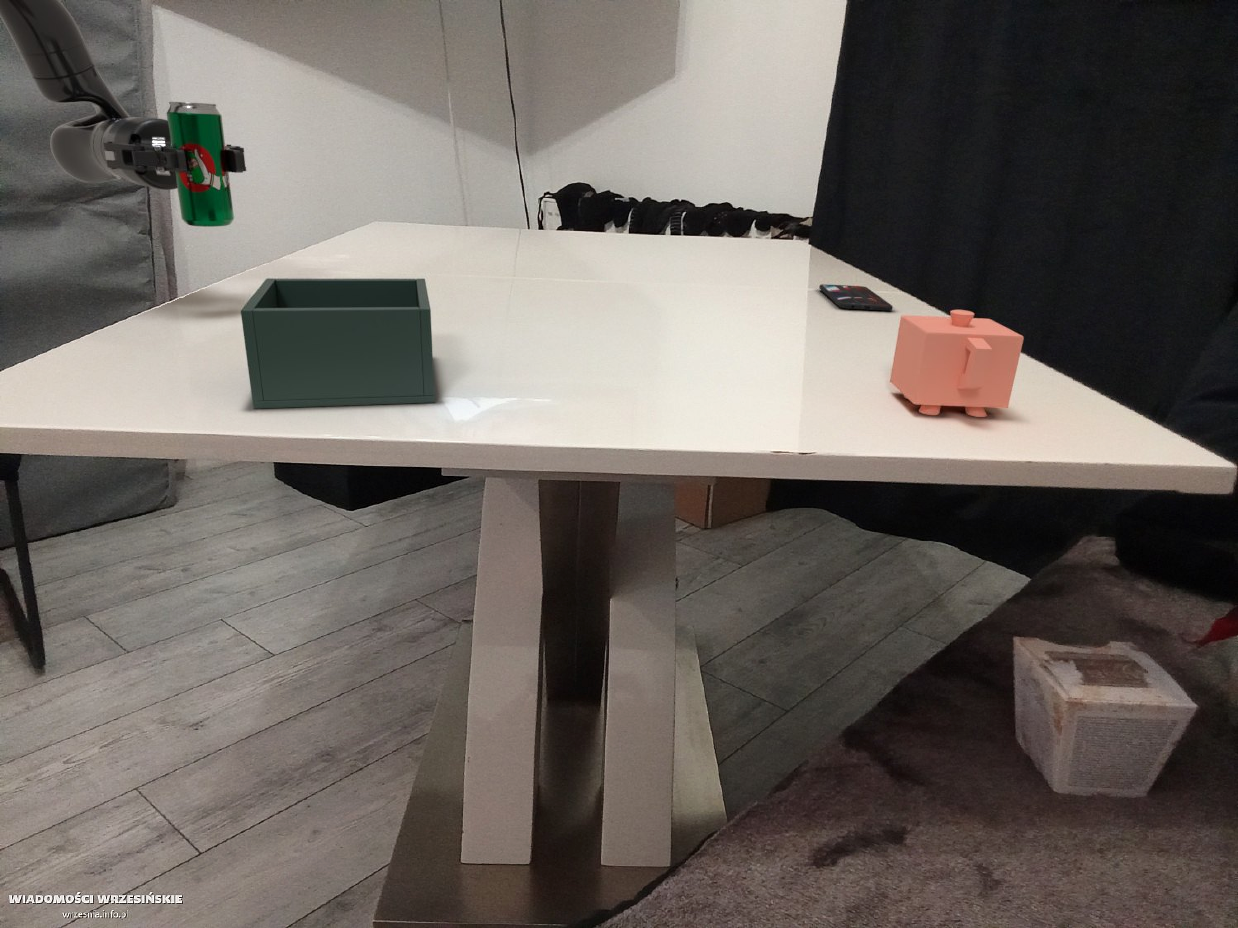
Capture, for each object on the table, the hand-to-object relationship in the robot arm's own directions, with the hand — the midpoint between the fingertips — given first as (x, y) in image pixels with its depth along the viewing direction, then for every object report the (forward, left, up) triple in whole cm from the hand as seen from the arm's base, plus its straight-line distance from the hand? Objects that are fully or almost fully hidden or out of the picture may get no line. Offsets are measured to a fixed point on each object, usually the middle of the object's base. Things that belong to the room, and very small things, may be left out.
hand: (211, 161), depth 85 cm
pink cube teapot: (+64, -38, -16) cm, 76 cm away
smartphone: (+80, +8, -16) cm, 82 cm away
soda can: (-2, +2, -7) cm, 7 cm away
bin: (+14, -26, -16) cm, 33 cm away
